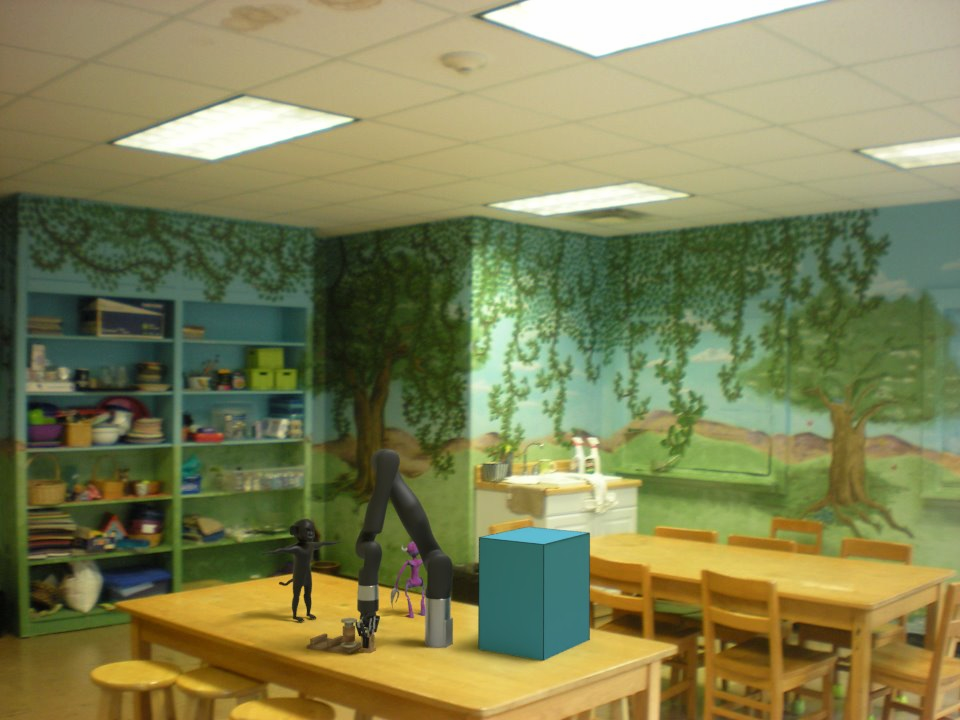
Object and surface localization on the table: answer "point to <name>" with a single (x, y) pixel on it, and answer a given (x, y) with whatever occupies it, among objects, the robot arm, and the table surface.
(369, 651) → the tan wooden block
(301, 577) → the monkey
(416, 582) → the toy
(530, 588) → the box
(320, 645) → the board
